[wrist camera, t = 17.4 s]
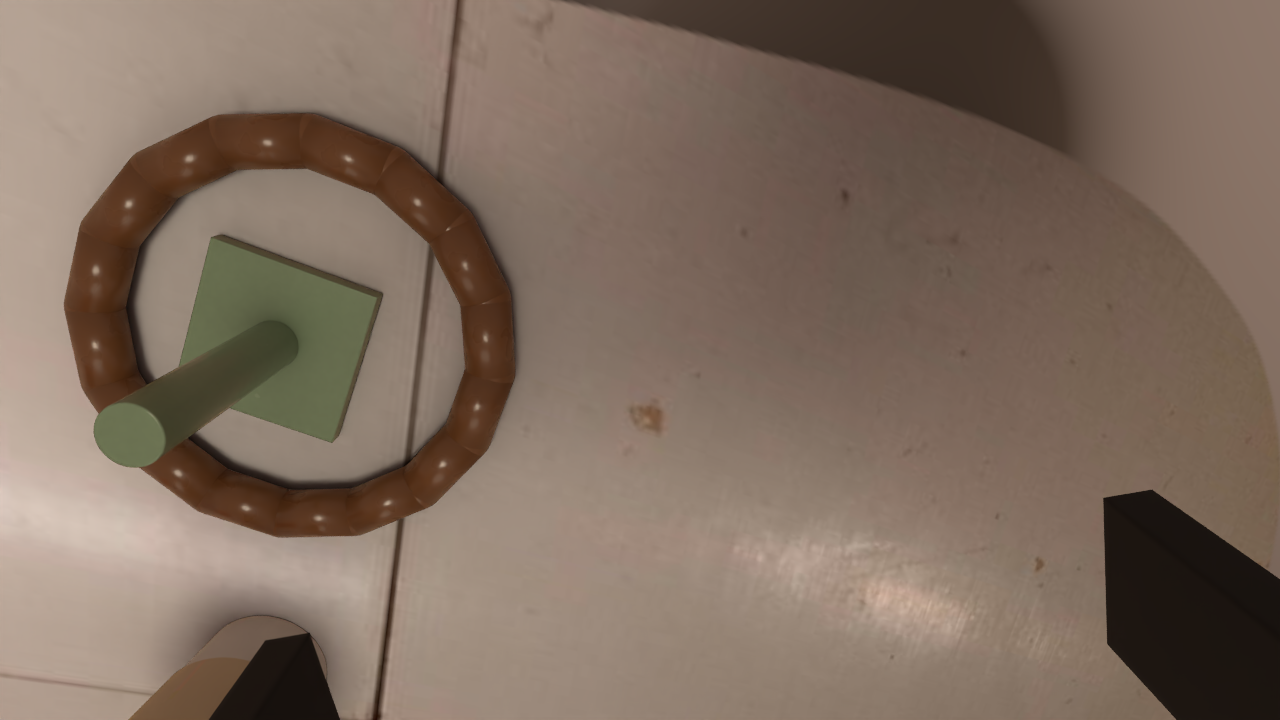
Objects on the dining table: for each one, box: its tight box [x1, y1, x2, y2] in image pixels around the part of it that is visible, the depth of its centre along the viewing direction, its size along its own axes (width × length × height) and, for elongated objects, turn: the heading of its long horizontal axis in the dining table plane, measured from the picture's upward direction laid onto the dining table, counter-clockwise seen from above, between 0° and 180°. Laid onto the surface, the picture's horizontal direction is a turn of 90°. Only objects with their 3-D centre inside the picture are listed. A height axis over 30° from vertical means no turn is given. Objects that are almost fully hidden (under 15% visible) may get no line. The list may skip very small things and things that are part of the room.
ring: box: [64, 113, 515, 538], centre depth 39 cm, size 21×21×2 cm
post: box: [94, 235, 383, 468], centre depth 34 cm, size 8×8×13 cm
